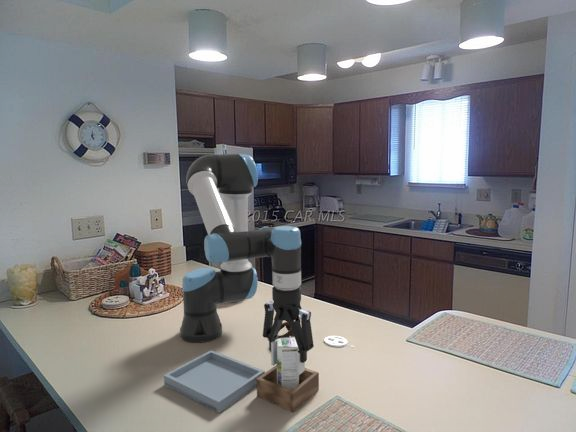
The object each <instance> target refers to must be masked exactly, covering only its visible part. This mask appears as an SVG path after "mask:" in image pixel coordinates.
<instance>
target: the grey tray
mask: <svg viewBox="0 0 576 432" xmlns="http://www.w3.org/2000/svg"><path fill="white" fill-rule="evenodd" d="M264 373H266V372H265V370H263V369H260V368H258V367H255V366H253V365H251V364H248V363H246V362H243V361H240V360H238V359H235V358H232V357H229V356H227V355H224V354H223V353H219V352H217V351H214V350H212V349H211V350H208V351H207V352H205V353H202V354H201V355H200V356H197V357H196V358H194V359H192V360H190V361H188V362H187V363H184V364H182V365H180V366H179V367H177V368H175V369H173V370H171V371H169V372H167V373H166V374H164V375H163V384H164V386H165V387H168V388H169V389H172V390H173V391H175V392H177V393H179V394H181V395H183V396H185V397H187V398H188V399H191V400H193V401H194V402H196V403H199V404H201V405H202V406H205V407H207V408H208V409H210V410H212V411H214V412H216V413H218V414H220V413H221V412H222V413H223V411H224V410H226V409H227V408H230V406H231V405H233V404H234V403H236V402H237V401H239V400H240V399H242V398H243V397H244V396H246V395H247V394H249V393H250V392H252V391H253V390H254V389H255V388H256V389H257V378H258V377H260V376H261V375H263V374H264Z"/></svg>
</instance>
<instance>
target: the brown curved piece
mask: <svg viewBox="0 0 576 432" xmlns="http://www.w3.org/2000/svg"><path fill="white" fill-rule="evenodd" d="M294 321H295V320H294ZM294 321H293V322H294ZM283 328H286V330H287V332H286V333H283V334H282V335H279V334H278V335H277V338H276V339H279V338H295V336H294V333H293V330H292V327H290V325H289V323H288V322H287V321H285V322H282V325H281V327H280V330H279V332H280V331H281V330H283Z"/></svg>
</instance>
